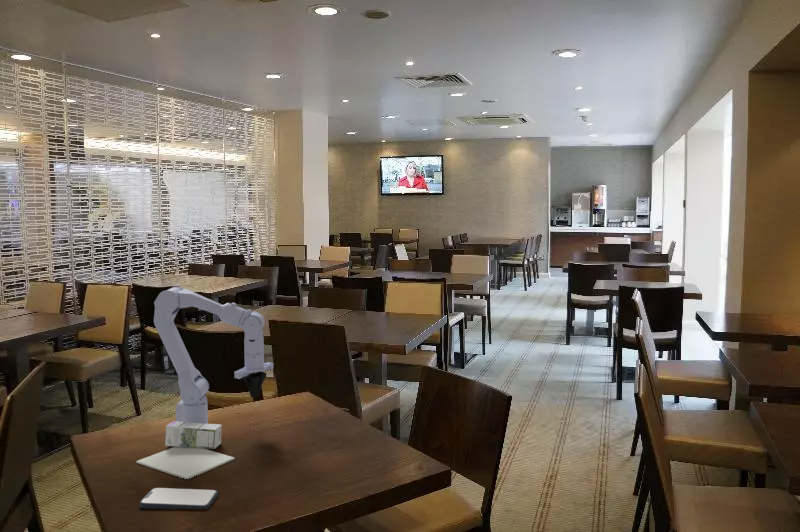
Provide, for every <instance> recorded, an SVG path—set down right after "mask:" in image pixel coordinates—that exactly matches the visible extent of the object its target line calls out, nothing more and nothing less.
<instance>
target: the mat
mask: <svg viewBox="0 0 800 532" xmlns="http://www.w3.org/2000/svg"><path fill="white" fill-rule="evenodd" d="M235 459H236V457H234V456H231V455H227V454H223V453H220V452H217V451H213V450H211V449H205V448H191V447H177V446H172V447H170V448H168V449H164V450H163V451H160V452H157V453H155V454H151V455H149V456H146V457H144V458H141V459H139V460H136V462H135V463H136V464H139V465H141V466H145V467H147V468H150V469H153V470H157V471H160V472H163V473H165V474H169V475H172V476H173V477H177V476H178V478H180V479H183V478H184V480H186V479H188V480H190V479H192V478H194V476H195V477H197V476H199V475H202V474H204V473H206V472H208V471H211V470H214V469H216V468H218V467H219V466H222V465H225V464H226V463H230V462H231V461H234V460H235ZM196 475H197V476H196ZM189 478H190V479H189Z"/></svg>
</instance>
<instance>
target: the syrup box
mask: <svg viewBox="0 0 800 532" xmlns="http://www.w3.org/2000/svg"><path fill="white" fill-rule="evenodd" d="M222 427H223V424H219V423H218V424H217V423H208V424H203V423H190V422H177V421H176V420H174V421H172V422H170V423H168V424H167V425H166V426H165V442H164V446H165V447H166V446H167V447H176V446H177V447H191V448H203V449H207V450H215V449H216V448H218V447H219V446H220V445H221V444H222Z"/></svg>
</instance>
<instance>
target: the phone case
mask: <svg viewBox="0 0 800 532" xmlns="http://www.w3.org/2000/svg"><path fill="white" fill-rule="evenodd" d="M218 496H219V491H218V490H216V489H201V488H200V489H199V488H198V489H197V488H196V489H195V488H177V487H174V488H173V487H169V488H168V487H155V488H151V490H149V492H147V494H145V496H144V497H143V498H141V500H140V501H139V508H140V509H142V508H143V510H144V509H145V510H147V508H148V510H158V509H157V508H160V509H159V510H177V509H206V510H208V509H210V508H211V506H212V505H213V503H214V502H215V501H214V500H217V498H218ZM211 504H212V505H211ZM209 507H210V508H209ZM150 508H152V509H150ZM163 508H164V509H163ZM207 508H208V509H207Z"/></svg>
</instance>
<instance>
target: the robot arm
mask: <svg viewBox="0 0 800 532" xmlns="http://www.w3.org/2000/svg"><path fill="white" fill-rule="evenodd" d="M153 304H154V312H153V313H154V315H153V323H154V327H155V329H156V330H157V333H158V335H159V337H160V339H161V341H162V344H163V346H164V348H165V350H166V352H167V355H168V357H169V359H170V361H171V363H172V365H173V367H174V370H175V372H176V374H177V375H178V380H177V381H178V382H177V384H178V385H177V386H178V387H179V395H180V396H179V398H180V399H181V400H180V401H178V403H177V404H176V406H175V411H174V412H175V421H177V422H190V423H203V424H209V413H208V412H209V411H208V410H209V409H208V408H209V407H208V406H209V405H208V397H207V396H206V394H207V393H208V392H209V389H210V384H209V382H208V380H207V379H206V378H205V377H204V376H203V375H202V374H201V371H199V369H197V368H196V367H195V364H194V363H193V361H192V359H191V356H190V353H189V352H188V350H187V348H186V346H185V343H184V340H183V339H182V337H181V335H180V333H179V332H180V331H179V330H178V328H177V326H176V324H175V318H176V316H177V314H178V312H179V310H181V309H184V308H190V307H194V308H197V309H200V310H203V311H204V312H205V311H206V312H207V313H211V314H215V315H217V316H218V318H219V320H220V321H221V322H224V323H226V324H229V325H232V326H234V327H237V328H240V329H242V330H243V332H244V341H243V343H244V344H243V345H244V350H243V351H244V367H242V368H239V369H238V370H235V371H233V372H234V377H233V378H234V379H238V380H240V379H243V380H244V382H245V384H246V386H247V389H248V392H249V395H250V398H252V399H253V398H254V399H257V398H259V397H260V394H261V389H262V386H263V383H264V381H265V379H266V377H267V373H266V371H269V370H274V362H270V361H267V362H265V345H264V342H265V337H264V329H263V327H264V326H265V323H266V320H265V317H264V315H263V314H261V313H260V312H258V311H252V309H245V308H244V307H243V308H242V307H240V306H238V305H237V303H235V302H231V303H230V302H227V303H225V304H221V303H219V302H217V301H214V300H213V299H210V298H207V297H205V296H203V295H201V294H198V293H197V292H195V291H192V290H190V289H188V288H187V289H185V288H182V287H179V286H174V287H173V286H172V287H171V288H168V289H167V290H163V291H161V292H160V293H159V294H158V296H157V297H156V298H155V300H154V302H153Z"/></svg>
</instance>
